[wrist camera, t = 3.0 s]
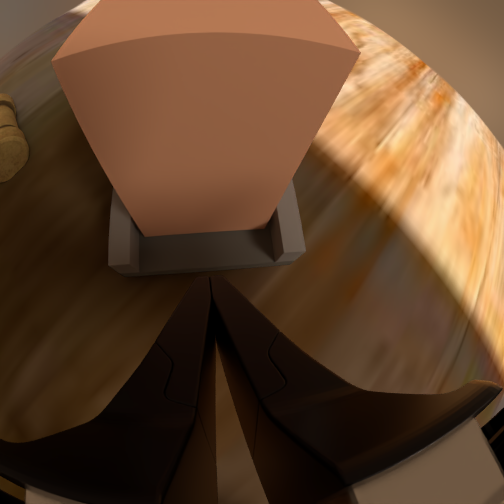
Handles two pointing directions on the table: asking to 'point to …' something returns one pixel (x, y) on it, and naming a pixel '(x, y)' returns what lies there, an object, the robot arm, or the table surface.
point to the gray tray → (205, 244)
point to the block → (203, 103)
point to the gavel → (10, 141)
